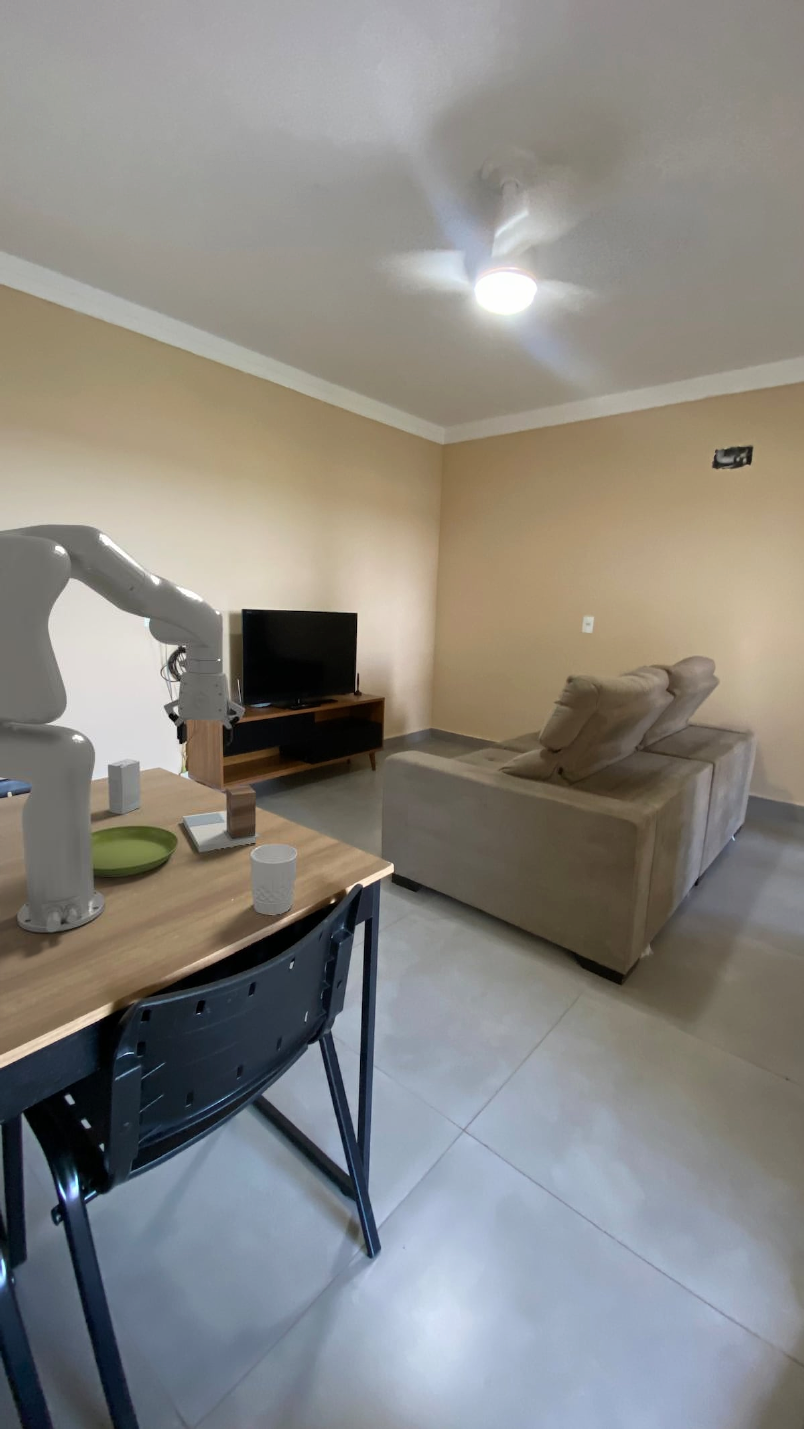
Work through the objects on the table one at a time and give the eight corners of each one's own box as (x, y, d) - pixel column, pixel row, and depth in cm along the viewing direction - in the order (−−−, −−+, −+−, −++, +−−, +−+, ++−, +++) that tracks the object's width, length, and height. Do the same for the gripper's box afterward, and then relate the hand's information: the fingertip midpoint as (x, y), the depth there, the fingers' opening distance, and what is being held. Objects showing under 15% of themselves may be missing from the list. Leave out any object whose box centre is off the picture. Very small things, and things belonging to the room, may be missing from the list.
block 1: (255, 814, 128) (255, 792, 127) (232, 817, 126) (232, 794, 125) (248, 806, 133) (249, 785, 132) (226, 809, 130) (226, 787, 129)
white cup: (247, 898, 106) (248, 846, 104) (291, 892, 109) (292, 842, 107) (252, 920, 99) (253, 865, 97) (299, 914, 102) (301, 860, 100)
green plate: (60, 891, 105) (59, 875, 104) (68, 846, 123) (67, 831, 123) (184, 874, 114) (183, 858, 113) (174, 834, 132) (174, 820, 132)
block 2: (255, 835, 129) (255, 814, 128) (232, 839, 127) (232, 817, 126) (248, 827, 134) (249, 806, 133) (226, 830, 131) (226, 809, 130)
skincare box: (127, 804, 147) (126, 757, 145) (142, 807, 146) (140, 760, 144) (108, 812, 142) (106, 763, 139) (122, 815, 140) (120, 766, 138)
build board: (259, 843, 129) (259, 836, 129) (199, 852, 123) (199, 845, 123) (237, 815, 145) (237, 808, 144) (182, 822, 138) (182, 815, 138)
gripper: (157, 666, 123) (159, 746, 126) (240, 671, 124) (240, 750, 127) (170, 662, 131) (171, 738, 134) (248, 667, 131) (248, 741, 134)
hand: (205, 744), depth 130 cm, fingers open, 9 cm apart
